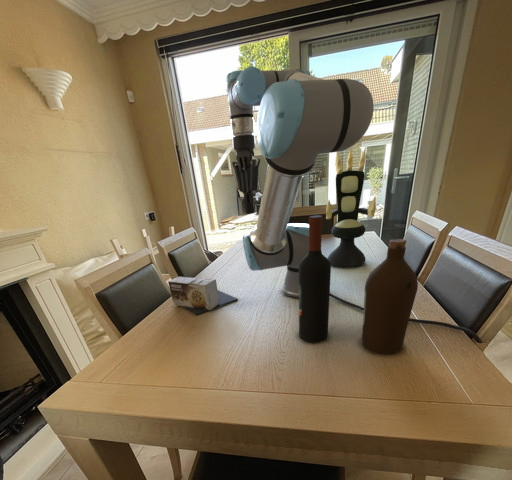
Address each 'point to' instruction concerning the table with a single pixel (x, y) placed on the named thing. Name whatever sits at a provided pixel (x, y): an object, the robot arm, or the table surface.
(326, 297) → the wine bottle
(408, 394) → the table surface
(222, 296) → the placemat
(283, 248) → the robot arm
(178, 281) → the coffee box
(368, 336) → the olive oil
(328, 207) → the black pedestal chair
